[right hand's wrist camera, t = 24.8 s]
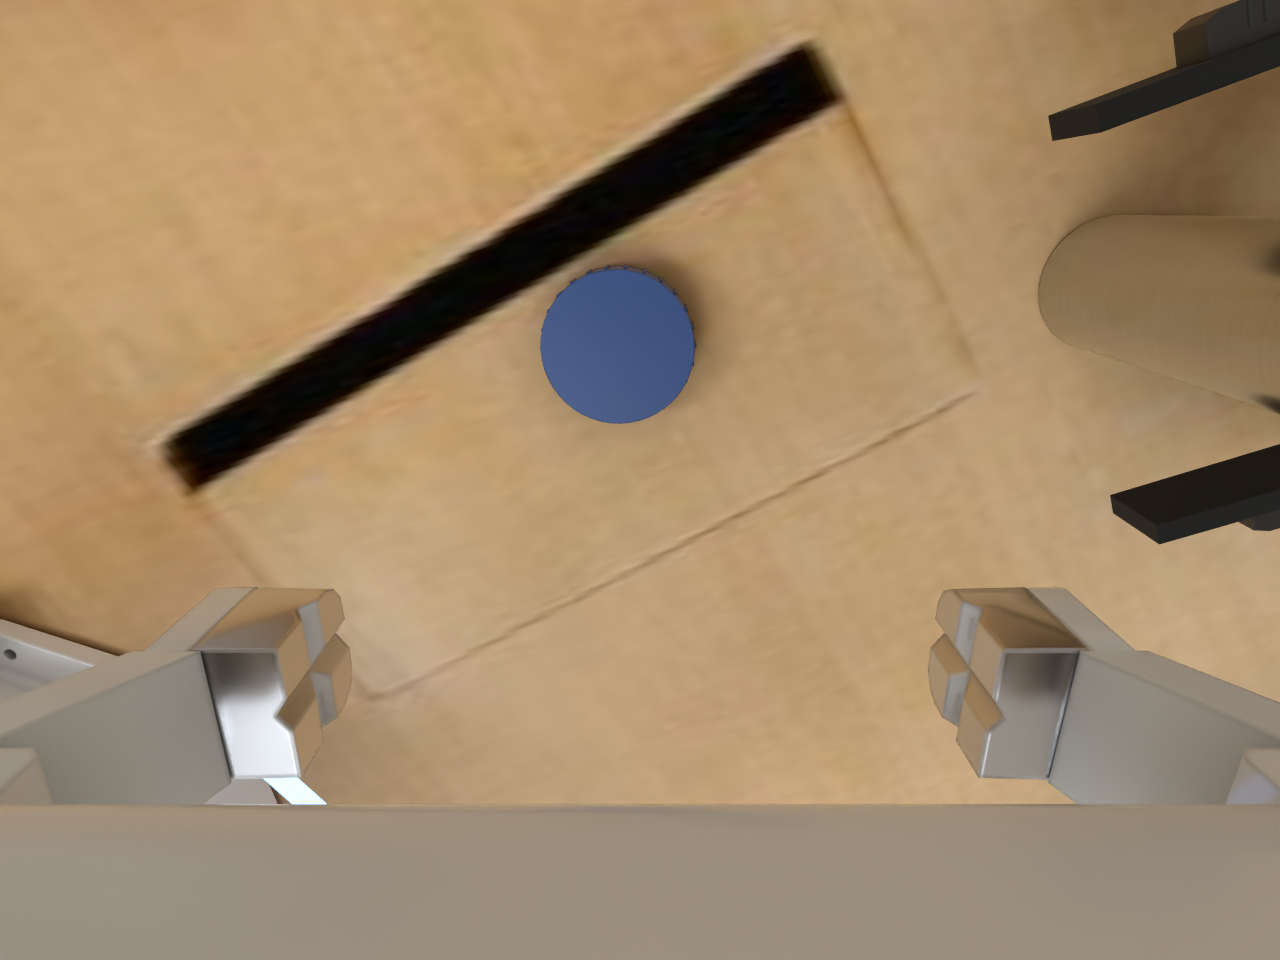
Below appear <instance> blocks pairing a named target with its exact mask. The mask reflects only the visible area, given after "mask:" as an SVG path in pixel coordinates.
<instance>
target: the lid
mask: <svg viewBox="0 0 1280 960" xmlns="http://www.w3.org/2000/svg"><path fill="white" fill-rule="evenodd" d="M570 284H571V285H569V286H568V287H567V288H566V289H565V290H564V291H561V292H560V293H559V294H557V296H556V297H557V299H556V300H555V301H554V303H553V304H552V306H551V308H550V309H548V310H547V313H548V314H547V316H546V318H545V321H544V325H543V327H542V329H541V331H542V334H541V347H540V349H541V356H542V362H543V366H544V370H545V372H546V375H547V377H548V379H549V381H550V383H551V385H552V387H553V388H554V389H555V391H556V392H557V394H558V395H559V396H560V397H561V398H562V399H563V400H564V401H565V402H566V403H567V404H568V405H569V406H570V407H572V408H573V409H574V410H576V411H578V412H579V413H581V414H583V415H585V416H587V417H589V418H591V419H595V420H598V421H601V422H607V423H618V424H620V423H631V422H636V421H640V420H643V419H646V418H649V417H651V416H653V415H655V414H657V413H658V412H660V411H661V410H663V409H664V408H665V407H667V406H668V405H669V404H670V403H671V402H672V401H673V400H674V399H675V398H676V397H677V396H678V395H679V393H680V392H681V390H682V389H683V387H684V386H685V384H686V383H687V381H688V378H689V375H690V372H691V369H692V366H694V361H693V360H694V350H695V348H696V342H695V340H694V335H693V330H692V329H694V325H693V321H692V322H691V321H690V318H689V315H688V312H687V311H688V309H687V305H686V304H685V305H684V304H683V302H682V301H681V299H680V298H679V296H678V295H677V291H676V289H674V290H673V289H672V288H671V287H670V286H669V285H668V284H666V283H665V282H664V281H663V278H662V277H660V278H658V277H657V276H655V275H653V274H651V273H649V272H647V271H646V269H645V268H644V270H641V269H638V268H634V267H628V264H626V265H625V266H610V265H606V266H605V267H604V268H600V269H597V270H594V271H592V269H591V270H589V271H588V272H586V274H585V275H583V276H581V277H580V278H578V279H577V280H576V278H575V279H573V280H572V281H571V282H570Z"/></svg>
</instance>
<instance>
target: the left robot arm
mask: <svg viewBox="0 0 1280 960" xmlns="http://www.w3.org/2000/svg"><path fill="white" fill-rule="evenodd" d="M1173 37H1174V46H1175V55H1176V65H1177V67H1176V68H1174V69H1171V70H1168V71H1166V72H1163V73H1160V74H1158V75H1155V76H1152V77H1150V78H1147V79H1145V80H1142V81H1139V82H1137V83H1134V84H1131V85H1129V86H1126V87H1123V88H1121V89H1118V90H1115V91H1113V92H1110V93H1107V94H1105V95H1102V96H1100V97H1097V98H1094V99H1092V100H1089V101H1086V102H1084V103H1081V104H1078V105H1076V106H1073V107H1070V108H1068V109H1065V110H1063V111H1060V112H1057V113H1055V114H1052V115H1049V123H1050V129H1051V135H1052V141H1055V140H1060V139H1066V138H1072V137H1077V136H1083V135H1089V134H1095V133H1100V132H1103V131H1106V130H1109V129H1111V128H1114V127H1117V126H1119V125H1122V124H1125V123H1127V122H1130V121H1133V120H1136V119H1138V118H1141V117H1144V116H1146V115H1149V114H1152V113H1154V112H1157V111H1160V110H1163V109H1165V108H1168V107H1171V106H1173V105H1176V104H1179V103H1181V102H1184V101H1187V100H1189V99H1192V98H1195V97H1198V96H1200V95H1203V94H1206V93H1208V92H1211V91H1214V90H1216V89H1219V88H1222V87H1225V86H1227V85H1230V84H1233V83H1235V82H1238V81H1241V80H1243V79H1246V78H1249V77H1251V76H1254V75H1257V74H1260V73H1262V72H1265V71H1268V70H1270V69H1273V68H1276V67H1278V66H1280V0H1239V1H1236V2H1234V3H1231V4H1229V5H1226V6H1223V7H1221V8H1218V9H1216V10H1213V11H1210V12H1208V13H1205V14H1203V15H1200V16H1197V17H1195V18H1192V19H1190V20H1189V21H1188V22H1187V23H1185V24H1184V25H1183V26H1182V27H1181V28H1179V29H1178V30H1177V31H1176V32H1175V33H1173ZM1110 497H1111V503H1112V509H1113V513H1114V514H1115V515H1117V516H1118V517H1120V518H1121V519H1123V520H1124V521H1126V522H1127V523H1129V524H1130V525H1132V526H1133V527H1135V528H1136V529H1138V530H1139V531H1140V532H1142V533H1143V534H1145V535H1146V536H1148V537H1149V538H1151V539H1152V540H1154V541H1155V542H1157V543H1158V544H1162V543H1166V542H1169V541H1173V540H1176V539H1180V538H1183V537H1187V536H1190V535H1194V534H1197V533H1201V532H1204V531H1207V530H1211V529H1214V528H1218V527H1221V526H1225V525H1228V524H1232V523H1235V522H1240V523H1241V524H1243V525H1245V526H1247V527H1249V528H1251V529H1252V530H1260V531H1271V530H1275V529H1278V528H1280V444H1279V445H1275V446H1272V447H1269V448H1265V449H1262V450H1259V451H1255V452H1252V453H1249V454H1245V455H1242V456H1239V457H1236V458H1232V459H1229V460H1226V461H1222V462H1219V463H1216V464H1212V465H1209V466H1206V467H1202V468H1199V469H1196V470H1192V471H1189V472H1186V473H1182V474H1179V475H1176V476H1172V477H1169V478H1166V479H1162V480H1159V481H1156V482H1152V483H1149V484H1146V485H1142V486H1139V487H1136V488H1132V489H1129V490H1126V491H1122V492H1119V493H1116V494H1112V495H1110Z"/></svg>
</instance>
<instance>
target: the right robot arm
mask: <svg viewBox="0 0 1280 960" xmlns="http://www.w3.org/2000/svg"><path fill="white" fill-rule="evenodd" d="M344 619H345V618H344V613H343V608H342V603H341V598H340V596H339V595H338V594H337V593H336V591H335V590H334V589H307V588H258V587H232V588H216V589H214V590H213V591H212V592H211V593H210V594H208V595H207V596H206V597H205V598H204V599H203V600H202V601H200V602H199V603H198V604H197V605H196V606H195V607H194V608H193V609H191V610H190V611H189V612H188V613H187V614H186V615H185V616H183V617H182V618H181V619H180V620H179V621H178V622H177V623H175V624H174V625H173V626H172V627H171V628H170V629H169V630H168V631H166V632H165V633H164V634H163V635H162V636H161V637H160V638H158V639H157V640H156V641H155V642H154V643H153V644H152V645H150V646H149V647H148V648H147V649H146V650H145V651H131V652H128V653H125V654H123V655H120V656H116V655H112V654H109V653H106V652H103V651H100V650H97V649H94V648H91V647H87V646H84V645H81V644H78V643H75V642H72V641H69V640H66V639H62V638H59V637H56V636H53V635H50V634H47V633H44V632H41V631H38V630H34V629H31V628H28V627H25V626H22V625H19V624H16V623H13V622H9V621H6V620H3V619H0V960H1280V703H1279V702H1276V701H1274V700H1271V699H1268V698H1266V697H1263V696H1261V695H1258V694H1256V693H1253V692H1251V691H1248V690H1246V689H1243V688H1241V687H1238V686H1236V685H1233V684H1231V683H1228V682H1225V681H1223V680H1220V679H1218V678H1215V677H1213V676H1210V675H1208V674H1205V673H1203V672H1200V671H1198V670H1195V669H1193V668H1190V667H1187V666H1185V665H1182V664H1180V663H1177V662H1175V661H1172V660H1170V659H1167V658H1165V657H1162V656H1160V655H1157V654H1155V653H1152V652H1149V651H1135V650H1134V649H1133V648H1132V647H1131V646H1130V645H1128V644H1127V643H1126V642H1125V641H1124V640H1123V639H1122V638H1121V637H1119V636H1118V635H1117V634H1116V633H1115V632H1114V631H1113V630H1111V629H1110V628H1109V627H1108V626H1107V625H1106V624H1105V623H1104V622H1102V621H1101V620H1100V619H1099V618H1098V617H1097V616H1096V615H1094V614H1093V613H1092V612H1091V611H1090V610H1089V609H1088V608H1087V607H1085V606H1084V605H1083V604H1082V603H1081V602H1080V601H1079V600H1078V599H1076V598H1075V597H1074V596H1073V595H1072V594H1071V593H1070V592H1068V591H1067V590H1066V589H1063V588H1059V587H1037V588H1025V587H1020V588H978V589H951V590H945V591H943V593H942V595H941V597H940V599H939V602H938V606H937V612H936V618H935V619H936V621H937V622H938V624H939V625H940V627H941V628H942V630H943V631H944V634H943V635H942V636H941V637H940V638H939V639H938V641H937V642H936V643H935V644H934V645H933V646H932V647H931V650H930V658H929V666H928V673H929V683H930V691H931V694H932V697H933V700H934V703H935V705H936V707H937V709H938V711H939V712H940V714H941V716H942V717H943V718H944V719H946V720H948V721H949V722H951V723H952V724H954V725H956V726H957V727H958V732H957V738H956V741H957V743H958V745H959V746H960V748H961V749H962V751H963V753H964V754H965V756H966V758H967V759H968V761H969V763H970V764H971V766H972V768H973V769H974V771H975V773H976V774H977V776H978V778H1009V779H1046V780H1049V781H1048V783H1050V784H1051V785H1052V786H1054V787H1055V788H1056V789H1058V790H1059V791H1060V792H1062V793H1063V794H1064V795H1066V796H1067V797H1069V798H1070V799H1071V800H1073V801H1074V802H1075V803H1077V804H326V803H325V802H324V801H323V800H322V799H321V798H320V797H318V796H317V795H316V794H315V793H314V792H313V791H312V790H311V789H310V788H308V787H307V786H306V785H305V784H304V783H303V782H302V781H301V780H299V779H298V778H302V776H303V774H304V773H305V771H306V769H307V768H308V766H309V764H310V763H311V761H312V759H313V758H314V756H315V754H316V753H317V751H318V750H319V748H320V746H321V745H322V743H323V741H324V738H323V732H322V727H323V726H324V725H326V724H328V723H329V722H331V721H332V720H334V719H336V718H337V717H338V716H339V714H340V712H341V710H342V709H343V707H344V705H345V703H346V701H347V697H348V693H349V688H350V684H351V667H352V663H351V656H350V649H349V647H348V646H347V645H346V644H345V643H344V642H343V641H342V639H341V638H340V637H339V636H338V635H337V634H336V631H337V630H338V628H339V627H340V625H341V624H342V622H343V621H344ZM268 783H269V784H270V785H271V786H272V787H273V788H275V789H276V790H277V791H278V792H279V793H280V794H281V795H282V796H284V797H285V798H286V799H287V800H288V801H289V802H290V803H292V804H277V801H276V798H275V796H274V793H273V791H272V789H271V787H270V785H269V784H268Z"/></svg>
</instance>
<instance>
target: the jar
mask: <svg viewBox="0 0 1280 960" xmlns="http://www.w3.org/2000/svg"><path fill="white" fill-rule="evenodd" d="M1039 305H1040V310H1041V313H1042V316H1043V319H1044V321H1045V323H1046V324H1047V326H1048V327H1049V329H1050V330H1051V331H1052V332H1053V333H1054V334H1055V335H1056V336H1057V337H1058V338H1060V339H1061V340H1062V341H1064V342H1066V343H1068V344H1070V345H1073V346H1076V347H1079V348H1082V349H1085V350H1088V351H1091V352H1094V353H1097V354H1100V355H1103V356H1106V357H1109V358H1112V359H1115V360H1118V361H1121V362H1124V363H1127V364H1130V365H1133V366H1136V367H1139V368H1142V369H1145V370H1148V371H1151V372H1154V373H1157V374H1160V375H1163V376H1166V377H1169V378H1172V379H1175V380H1178V381H1181V382H1184V383H1187V384H1190V385H1193V386H1196V387H1199V388H1202V389H1205V390H1208V391H1211V392H1214V393H1217V394H1220V395H1223V396H1226V397H1229V398H1232V399H1235V400H1238V401H1241V402H1244V403H1247V404H1250V405H1253V406H1256V407H1259V408H1262V409H1265V410H1268V411H1271V412H1274V413H1277V414H1280V217H1272V216H1192V215H1109V216H1105V217H1100V218H1097V219H1095V220H1092V221H1090V222H1088V223H1086V224H1084V225H1082V226H1080V227H1079V228H1077V229H1076V230H1074V231H1073V232H1072V233H1070V234H1069V235H1068V236H1067V237H1066V238H1065V239H1064V240H1063V241H1062V242H1061V243H1060V244H1059V245H1058V246H1057V248H1056V249H1055V250H1054V251H1053V253H1052V254H1051V256H1050V258H1049V259H1048V261H1047V263H1046V265H1045V267H1044V270H1043V273H1042V276H1041V280H1040V285H1039Z"/></svg>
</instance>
